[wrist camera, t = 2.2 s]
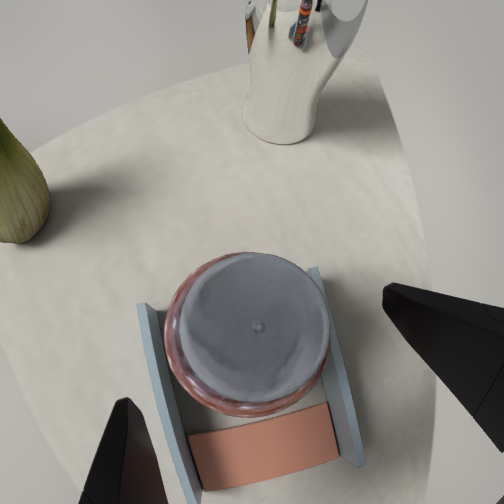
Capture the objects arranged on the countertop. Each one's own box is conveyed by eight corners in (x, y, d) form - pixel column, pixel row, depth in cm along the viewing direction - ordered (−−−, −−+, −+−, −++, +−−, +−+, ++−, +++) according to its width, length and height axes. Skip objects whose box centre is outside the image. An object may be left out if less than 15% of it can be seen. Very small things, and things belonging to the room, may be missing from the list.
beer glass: (248, 83, 25) (268, -67, 11) (322, 103, 25) (376, -40, 11) (225, 136, 23) (236, -49, 9) (312, 160, 23) (385, -13, 9)
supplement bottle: (296, 308, 19) (381, 247, 9) (275, 401, 17) (344, 453, 7) (202, 285, 19) (180, 196, 9) (178, 378, 17) (118, 406, 7)
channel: (346, 451, 16) (365, 464, 14) (194, 490, 15) (190, 511, 12) (304, 279, 20) (317, 266, 17) (148, 312, 18) (136, 303, 16)
